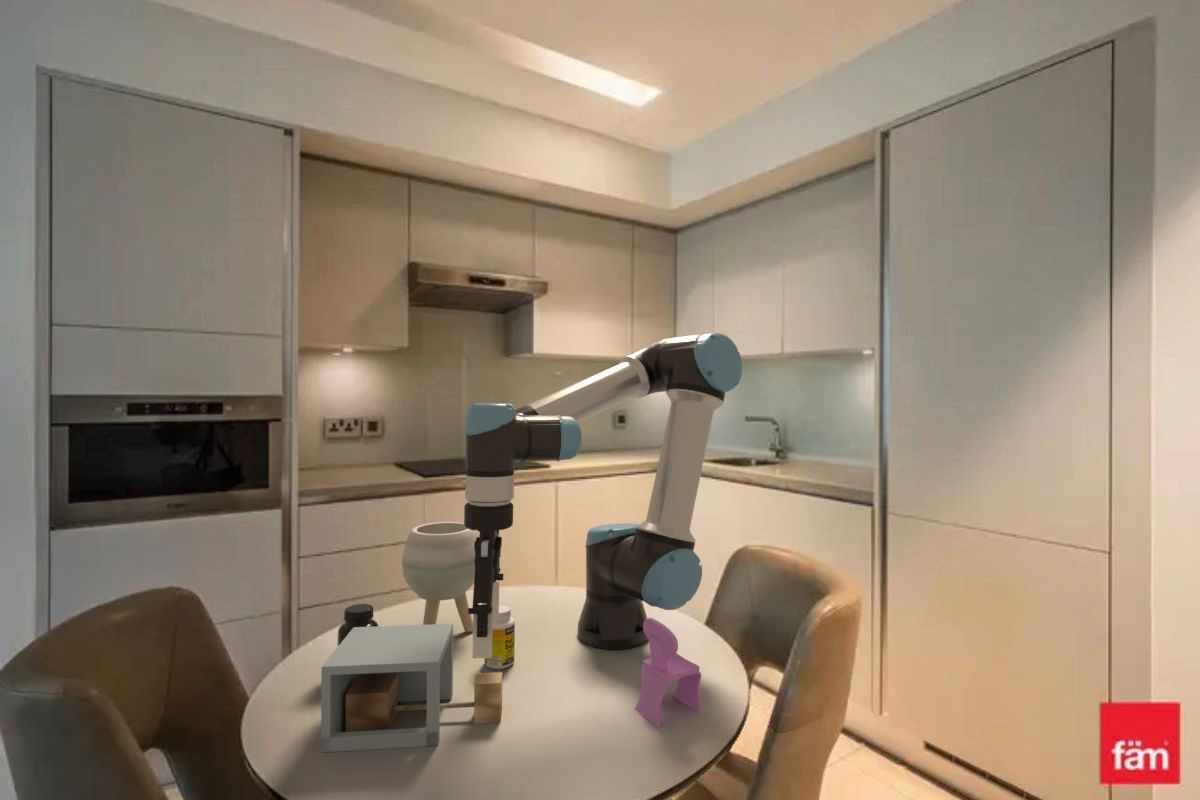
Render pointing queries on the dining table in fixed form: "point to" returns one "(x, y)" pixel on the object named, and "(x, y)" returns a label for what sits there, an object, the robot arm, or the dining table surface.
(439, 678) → the shelf cubby
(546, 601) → the dining table surface
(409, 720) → the dining table surface
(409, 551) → the planter
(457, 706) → the tethered block
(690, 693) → the toy chair
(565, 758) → the dining table surface
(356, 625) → the supplement bottle
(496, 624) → the supplement bottle
